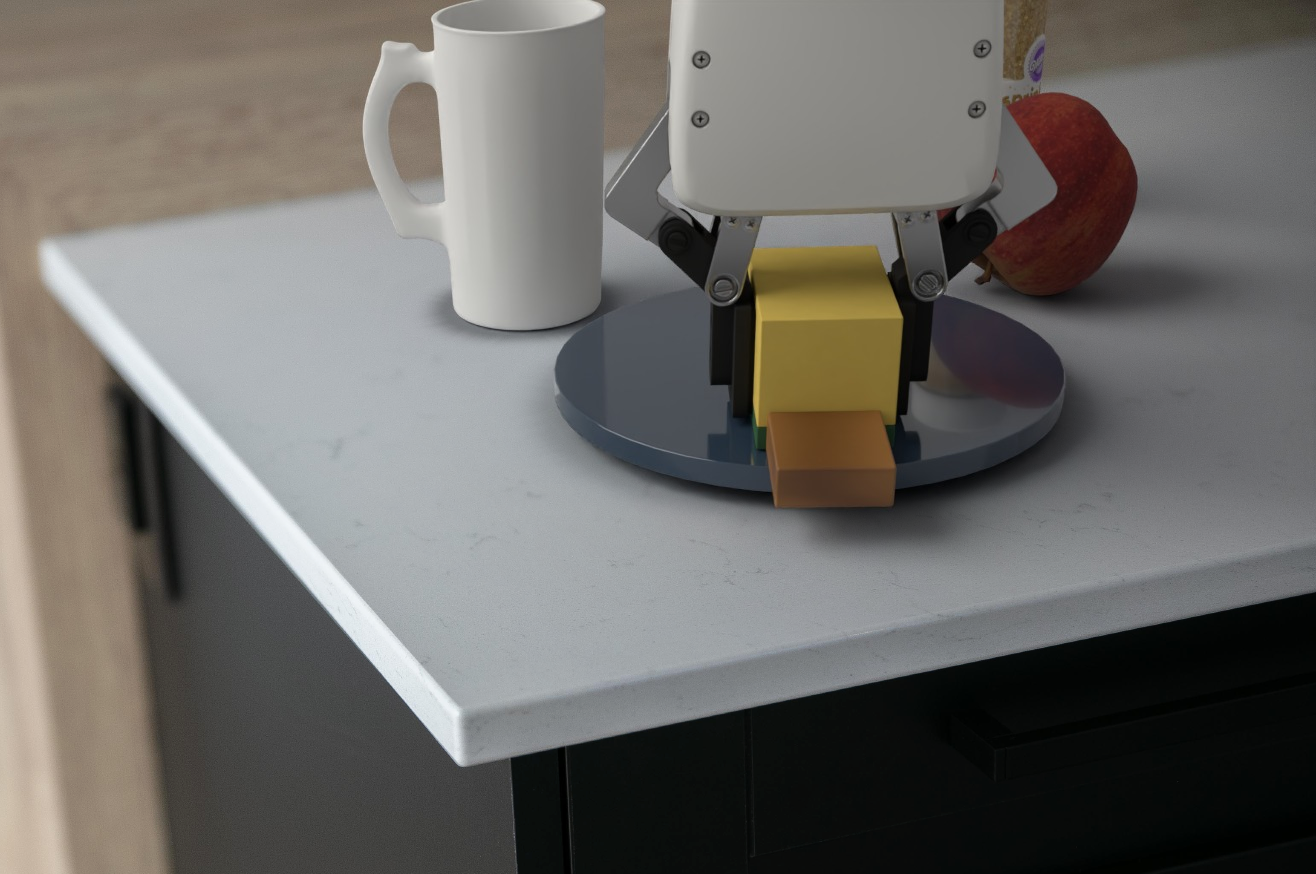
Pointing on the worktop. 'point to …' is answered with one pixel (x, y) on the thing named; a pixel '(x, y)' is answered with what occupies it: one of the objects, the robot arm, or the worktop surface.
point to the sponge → (824, 333)
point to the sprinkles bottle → (1023, 48)
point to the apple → (1065, 199)
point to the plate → (723, 448)
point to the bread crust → (830, 459)
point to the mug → (507, 156)
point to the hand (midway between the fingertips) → (815, 396)
